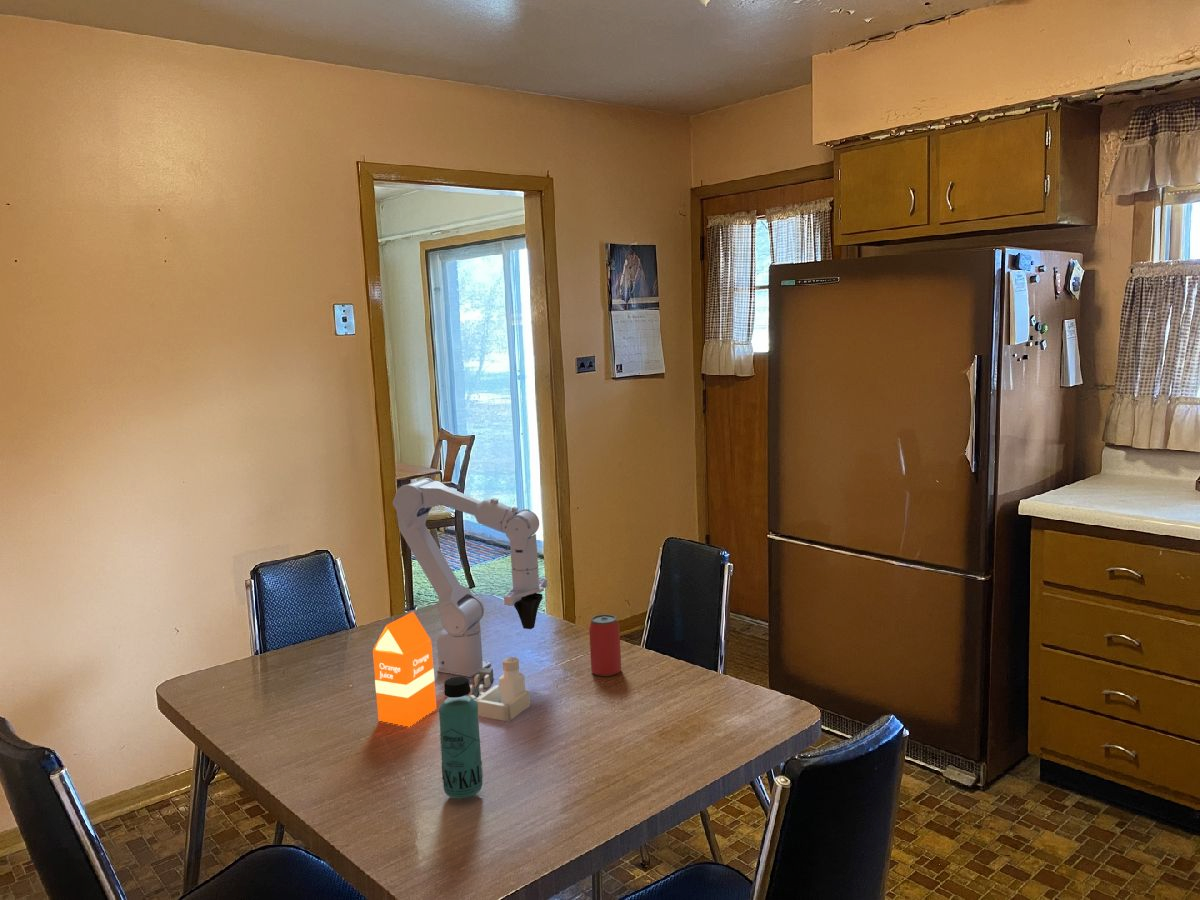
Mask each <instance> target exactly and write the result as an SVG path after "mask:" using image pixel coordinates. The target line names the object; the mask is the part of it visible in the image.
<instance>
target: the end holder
mask: <svg viewBox="0 0 1200 900" xmlns="http://www.w3.org/2000/svg"><path fill="white" fill-rule="evenodd" d="M484 692H485V693H484V694H482V695H481V696H479V697H478V698H476V699H475V701H476V702H477V704H478V717H481V718H482V717H484V718H488V719H494V720H497V721H498V720H499V721H504V722H510V721H511V720H513V719H514V718H516V717H517V716H518V715H519V714H520V713H522V712H523V711H524V710H527V708H528V707H530V706H531V696H530V695H531V694H530V690H527V689H525V691H523V692H522V693H521V694H519V695H518V696H516V697H515V698H514V699H512V700H511V701H509V702H508V703H507V704H503V703H500V689H499V684H495V685H494V686H493V687H491V688H490V689H488V690H487V691H484Z"/></svg>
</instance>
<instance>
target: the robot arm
mask: <svg viewBox="0 0 1200 900" xmlns="http://www.w3.org/2000/svg"><path fill="white" fill-rule="evenodd" d="M392 506H393V507H394V509H395V511H396V517H397V518H396V520H397V525H398V530H399V532H400V534H401V535H402V537H403V538H404V540H405V543H406V544H407V546H408V547H409V549H410V550H411V553H412V555H414V557H415V559H416V561H417V563H418V564H419V566H420V568H421V569H422V571H423V572H424V575H425V577H426V578H427V579H428V582H429V583H430V585H431V586H432V589H433V590H434V592H435V593H436V595H437V597H438V603H437V604H438V605H437V611H438V613H439V615H440V617H441V618H440V619H441V624H442V627H443V629H442V630H441V631H440V632H439V634H438V637H437V644H436V645H437V646H436V647H437V657H438V668H437V669H436V672H438V673H446V674H449V673H450V675H456V676H462V677H466V678H472V677H475V675H476V674H478V672H479V670H480V669H481V668H489V667H490V666H491V665H492V663H491V662H489V661H486V660H485V661H484V660H483V659H484V658H483V647H482V635H481V634H482V633H481V632H482V631H481V623H480V622H481V621H480V620H481V619H482V618H483V616H484V613H485V608H484V605H483V602H482V601H481V600H480V599H479V598H478V597H476V596H475V595H474V594H473V592H472V590H471V589H470V588H468V587H466V586H464V585H462V584H461V583H460V582H459V580H458V578H457V576H456V575H455V573H454V571H453V569H452V567H451V566H450V565H449V563H448V561H447V560H446V558H445V556H444V554H443V553H442V551H441V549H440V547H439V546H438V544H437V542H436V540H435V539H434V537H433V535H432V534H431V532H430V530H429V528H428V527H427V526H426V524H427V523H426V522H427V520H428V517H429V513H430V511H431V510H432V508H434V507H437V506H443V507H447V508H450V509H453V510H456V511H460V512H463V513H465V514H468V515H471V516H474V518H475V519H476V522H477V523H478V524H480V525H482V526H484V527H487V528H490V529H493V530H495V531H497V532H500V533H502V534H505V536H506V537H507V539H508V540H509V545H510V546H509V547H510V549H509V550H510V561H511V562H510V564H511V565H510V566H511V578H512V579H511V580H512V587H511V588H510V590H508V592H507V594H505V595H504V596H503V603H504V606H509V607H514V609H515V610H516V611H517V614H518V617H519V619H520V622H521V625H522V628H523V629H527V630H532V629H534V628H535V625H536V618H537V614H538V610H539V607H540V604H541V602H542V601H543V597H544V596H543V594H542V593H543V592H544V591H545V590H544V589H545V588H547V587H548V578H546V577H539V576H540V575H539V561H538V560H539V559H538V558H539V557H538V545H537V533H536V532H537V531H538V530H539V529H540V519H539V517H538V516H537V515H536V513H535V512H533V511H531V510H530V509H528V508H524V509H521V510H519V508H518V507H516V506H513V507H511V506H508V505H506V504H505V503H504V504H503V503H501V502H499V498H496V497H492V498H485V499H484V500H482V501H480V500H478V499H476V498H473V497H471V496H469V495H467V494H465V493H463V492H461V491H458V490H456V489H454V488H451V487H450V486H447V485H445V484H444V483H443V482H441V481H437V480H433V479H432V478H430V477H429V478H428V477H421V478H420V479H418V480H416V481H414V482H411V483H408V484H404V485H401V486H399V487H398V489H397V490H396V492H395V494H394V498H393V500H392Z"/></svg>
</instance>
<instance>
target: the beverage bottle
mask: <svg viewBox="0 0 1200 900" xmlns="http://www.w3.org/2000/svg"><path fill="white" fill-rule="evenodd" d="M470 685H471V684H470V680H469V677H467V676H461V675H456V676H453V677H449V678H447V679H445V680H444V685H443V686H444V689H443V691H444V693H443V694H444V696H445V697H447V698H446V699H445V700H443V701H442V702H441V703H440V705H439V706H438V715H439V732H440V733H439V739H440V755H441V756H440V757H441V758H440V760H441V774H442V775H441V776H442V778H441V781H442V785H443V791H444V794H446V795H447V796H448V797H450V798H453V799H465V798H470V797H472V796H474V795H476V794H478V793H479V792H480V791H481V790H482V787H483V783H484V780H483V779H484V775H483V774H484V773H483V766H482V764H483V761H482V751H481V750H482V748H481V739H480V726H479V716H478V704H477V702H476V701H475V700H473V699H472V698H470V697H469V696H468V695H469V693H470V691H471V690H470Z"/></svg>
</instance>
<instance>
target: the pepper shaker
mask: <svg viewBox="0 0 1200 900" xmlns="http://www.w3.org/2000/svg"><path fill="white" fill-rule="evenodd" d="M502 669H503V674H501V676H500V677H499V678H498V685H499V689H500V701H499V703H503V704H507V703H508V702H509V701H511V700H512V699H514V698H515V697H516V696H518V695H519V694H521V693H522V692H523V691H525V690H526V681H525V677H526V676H525V675H524V674H523V673H521V672H519V671H520V660H519V658H517V657H513V656H510V657H506V658H504V659H503V660H502Z"/></svg>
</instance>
